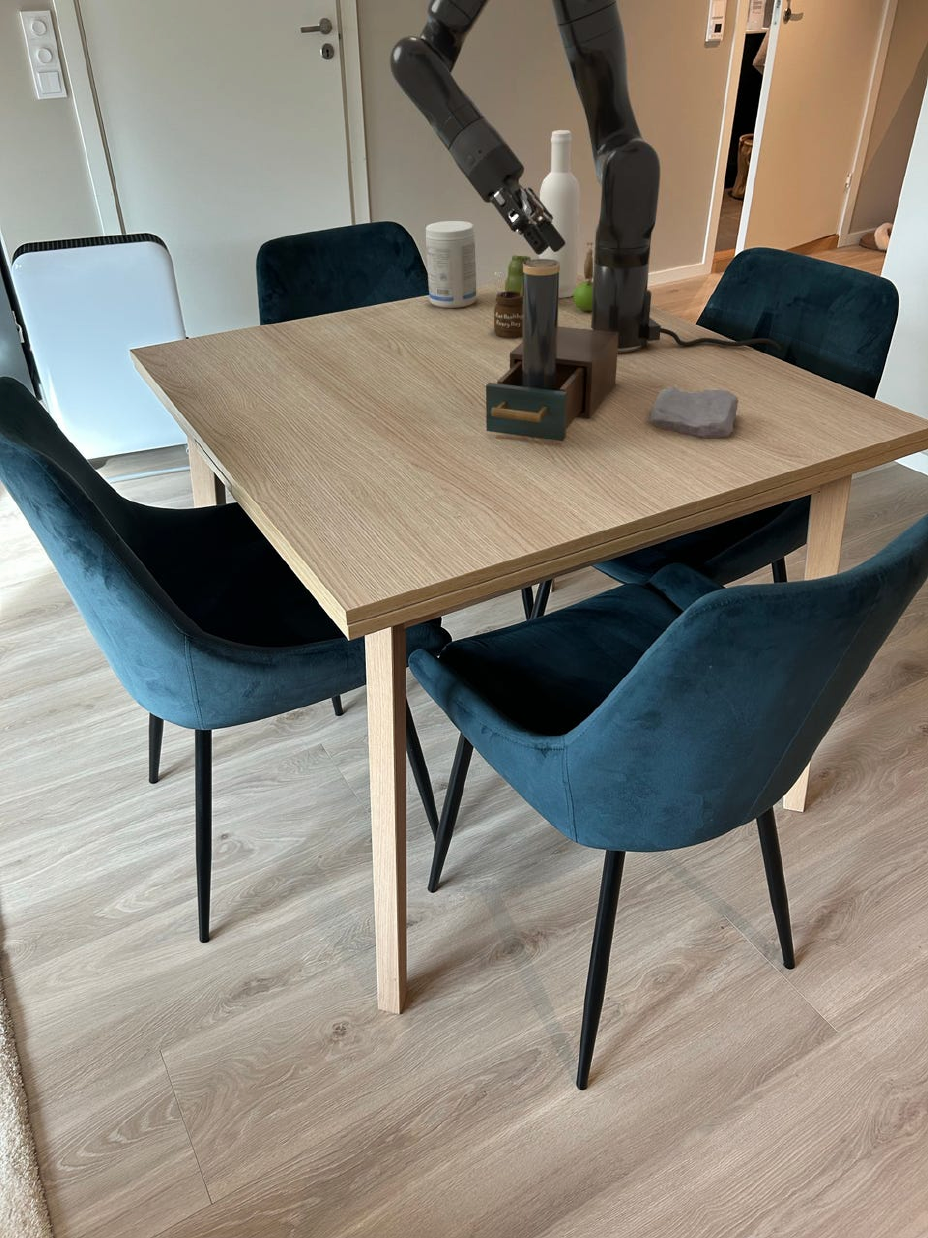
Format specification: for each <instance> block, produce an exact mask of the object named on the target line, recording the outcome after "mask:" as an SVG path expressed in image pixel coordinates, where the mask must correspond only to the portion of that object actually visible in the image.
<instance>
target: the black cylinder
mask: <svg viewBox="0 0 928 1238" xmlns="http://www.w3.org/2000/svg"><path fill="white" fill-rule="evenodd" d="M559 270H560V263H559V262H558V261H555V260H551V259H539V258H533V259H531V260H528V261H525V262H524V263H523V335H522V342H521V343H522V387H530V388H539V389H547V390H555V391H556V364H557V328H558V327H559V325H558V324H559V298H558V293H559Z"/></svg>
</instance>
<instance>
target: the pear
mask: <svg viewBox="0 0 928 1238" xmlns="http://www.w3.org/2000/svg"><path fill="white" fill-rule="evenodd" d="M528 260H532V259H531V256H528V255H515V254H513V255H512V257H511V260H510V262H509V264H508V268H507V276H506V279H507V280H506V281H505V283H504V289H505V288H506V291H517V292H521V289H522V286H523V263H524V262H525V261H528ZM507 284H508V289H507ZM522 293H523V292H522Z"/></svg>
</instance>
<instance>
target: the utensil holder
mask: <svg viewBox="0 0 928 1238" xmlns="http://www.w3.org/2000/svg"><path fill="white" fill-rule="evenodd" d="M496 274H497V275H498V276H497V277H499V278H501V277H502V278H503V279H504V280H503V282H504V284H505V282H506V280H507V278H505V277H507V276H506V274H505V272H503V271H501V270H498V271H496V272H495V273H494V274H493V276H496ZM501 275H503V276H501ZM497 280H498V279H495V281H494V283H493V285H494V286H495V290H496V292H497V294H496V295H495V303H496V304H495V305H494V309H493V329H494V330H493V331H494V334H495V335H496V336H497V337H500V338H506V339H514V338H515V339H516V338H519V337H523V293H522V292H523V286H522V289H521V292H517V291H506V288H505V287H503V285H499V284H497ZM498 282H499V283H503V282H502V280H501V282H500V280H499V281H498ZM498 285H499V286H498ZM499 287H500V289H503V288H504V291H503V290H499ZM507 289H508V284H507Z"/></svg>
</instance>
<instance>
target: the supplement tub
mask: <svg viewBox="0 0 928 1238" xmlns="http://www.w3.org/2000/svg"><path fill="white" fill-rule="evenodd" d="M475 240H476V238H475V230H474V224H473V223H472V222H469V221H463V220H444V221H437V222H433V223H429V224H428V225H427V226H426V227H425V247H426V264H427V282H428V283H427V284H428V295H429V296H428V297H429V302H430V303H431V304H432V305H433V306H435V307H438V308H443V309H458V308H464V307H467V306H471V305H473V304H474V303H475V302H476V300H477V297H478V296H477V267H476V265H477V263H476V241H475Z"/></svg>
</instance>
